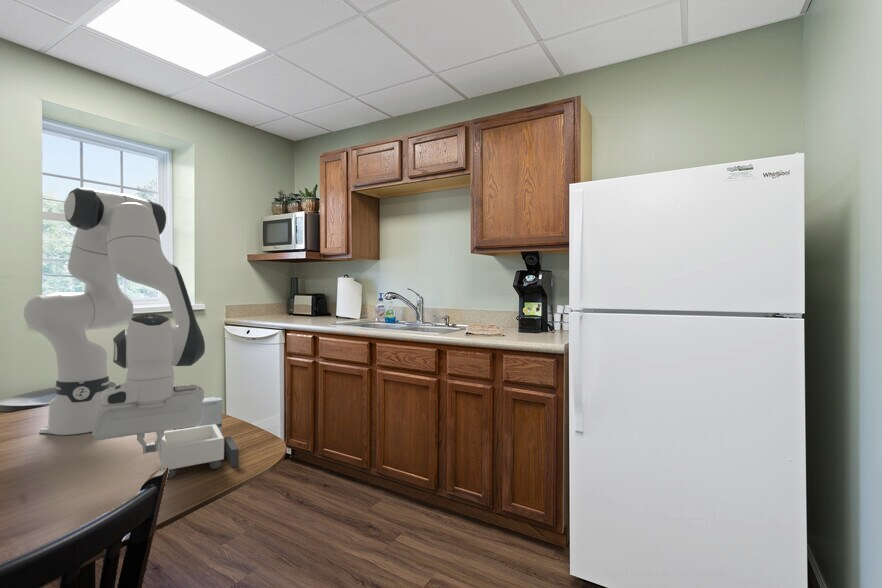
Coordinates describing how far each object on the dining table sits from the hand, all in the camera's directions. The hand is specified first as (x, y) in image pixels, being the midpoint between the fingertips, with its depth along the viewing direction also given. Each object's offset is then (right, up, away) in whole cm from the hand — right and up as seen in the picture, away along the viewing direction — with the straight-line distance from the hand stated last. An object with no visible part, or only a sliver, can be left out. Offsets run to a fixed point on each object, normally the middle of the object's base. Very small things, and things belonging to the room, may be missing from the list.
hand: (150, 451), depth 99 cm
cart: (+6, -5, +5) cm, 9 cm away
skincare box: (+3, -5, +18) cm, 19 cm away
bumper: (+13, -5, +9) cm, 17 cm away
